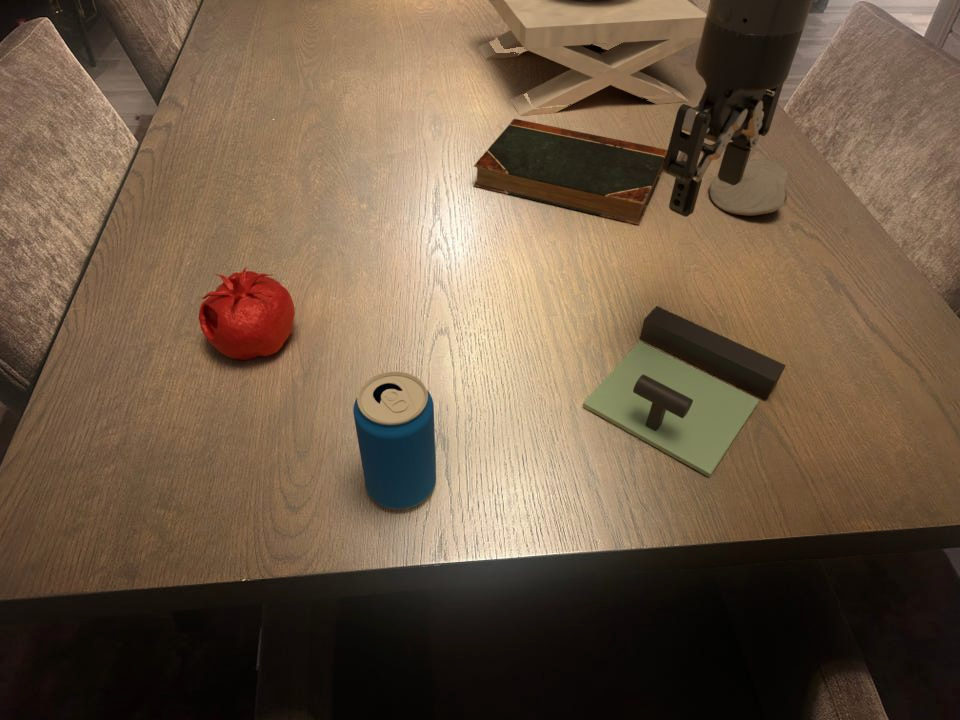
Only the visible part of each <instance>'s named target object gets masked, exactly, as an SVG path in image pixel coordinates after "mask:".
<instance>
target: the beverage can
mask: <svg viewBox="0 0 960 720" xmlns="http://www.w3.org/2000/svg"><path fill="white" fill-rule="evenodd" d="M434 406H435V405H434V399H433V398H432V395H431V393H430V391H429V390H428V389H427V387H426V385H425V383H424V382H423V381H422V380H421V379H419V377H417V376H416V375H414V374H411V373H409V372H404V371H400V370H399V371H398V370H393V371H385V372H381V373H378V374H375V375H373V376H371V377H369V378H368V379H367V380H365V382H364V383H363V384H362V385H361V386H360V388H359V390H358V392H357V396H356V398H355V401H354V404H353V410H352V412H353V413H352V414H353V419H354V425H355V429H356V430H355V431H356V437H357V443H358V450H359V454H360V455H359V456H360V461H361V467H362V472H363V473H362V474H363V479H364V485H365V489H366V491H367V494H368V495H369V497H370V498H371V499H372V500H373V501H374V502H375V503H376V504H378V505H380V506H382V507H385V508H388V509H393V510H405V509H410V508H412V507H413V508H414V507H416V506H419V504H421V503H423V502H424V501H426V499H428V498H429V497H430V495H431V494H432V493H433V491H434V489H435V486H436V483H437V459H436V433H435V407H434Z"/></svg>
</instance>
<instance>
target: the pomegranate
mask: <svg viewBox="0 0 960 720" xmlns="http://www.w3.org/2000/svg"><path fill="white" fill-rule="evenodd" d="M247 269H248V266H246V267H244V268H243V269H242V272H237V271H236V272H233V273H232V274H230V275H229V276H225V275H222V274H218V273H215V275H216V276H217V277H220V279H221V281H222V283H221V284H219V285H218V287H216V289H215V291H209V292H208V293H206V294H205V296H202V297H200V299H201V300H203V301H202V303H201V304H200V307H199V312H198V322H199V325H200V329H201V332H202V333H203V336H204V337H205V339H206V340H207V341H208V343H209V344H211V345H212V346H213V347H214V348H215V349H216V350H217V351H218V352H220V353H221V354H223V355H224V356H226V357H228V358H230V359H231V358H232V359H236V360H243V361H245V360H246V361H247V360H250V359H254V358H256V357H261V356H262V357H268V356H271V355H274V354H276V353H277V352H278V351H280V349H281V348H282V347H283V346H284V344H285V342H286V341H287V340H288V338H289V337H290V336H291V334H292V332H293V328H294V321H295V316H296V310H295V309H296V308H295V304H294V300H293V298H292V295H291V294H290V292H289V290H288V289H287V288H286V287H285V286H283V285H282V284H281V282H280V281H278V280H276V279H274V278H272V277H269V276H274V275H275V273H272V274H268V273H257V272H256V271H250V270H247Z"/></svg>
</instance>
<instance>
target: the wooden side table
mask: <svg viewBox="0 0 960 720" xmlns="http://www.w3.org/2000/svg"><path fill="white" fill-rule="evenodd" d="M488 2H489V3H490V4H491V6H492V7H493V8H494V9H495V11H496V13H498V15H499V16H500V18H501V19H502V21H503V22H504V23H505V25H506V26H507V28H508V29H509V30H507V31H506V32H504V33H502V34H501V35H498V36H497V38H498V40H499V41H500V44H501V46H503V48H504V49H510V48H516V47H524V49H526V50H528V51H527V52H531V53H533V54H535V55H538V56H541V57H543V58H545V59H547V60H550V61H552V62H555V63H557V64H560V65H562V66H564V67H567V68H569V69H568V70H566V71H564V72H562V73H560V74H559V75H556V76H554V77H553V78H550V79H549V80H546V81H545V82H543V83H541V84H539V85H537V86H534V87H533V88H531V89H529V90H527V91H526V92H527V94H528V97H529V98H530V101H531V104H532V105H533V108H540V109H533V108H532V107H531V105H530V104H529V102H528V101H527V99H526V98H525V96H524V95H523V93H521V94H519V95H517V96H515V97H512V98H511V99H510V102H511V104H512V105H513V107H514V109H515V110H516V112H517V113H518V115H519V116H520V117H521V116H535V115H544V114H556V113H557V112H559V111H561V110H563V109H566V108H567V107H568V108H569V106H564V107H552V108H542V107H548V106H556V105H567V104H571V105H573V104H575V103H577V102H580V101H581V100H583V99H585V98H588V97H589V96H591V95H594V94H595V93H597V92H599V91H601V90H603V89H605V88H607V87H609V86H612V87H614V88H616V89H619V90H622V91H624V92H627V93H628V94H631V95H634V96H636V97H638V98H641V97H643V96H655V95H665V94H671V93H670V92H669V91H668V90H667V89H665V88H664V87H663V86H662V85H661V84H660V83H659V82H658V81H657V80H658V79H657V78H655V77H652V76H650V75H647V74H646V73H644V72H641V70H643V69H645V68H647V67H649V66H650V65H652V64H654V63H658V62H659V61H661V60H663V59H664V58H666V57H668V56H671V55H672V54H674V53H676V52H678V51H680V50H683V49H684V48H686V47H688V46H690V45H692V44H694V43H696V42H698V41H701V37H702V33H703V29H704V24H705V20H706V16H707V13H705V12H704V11H703V10H701V8H699V7H698V6H696V5H695V4H694V3H692V2H691V1H689V0H488ZM622 42H623V43H622ZM606 43H621V44H619V45H617V46H615V47H613V48H611V49H609V50H607V51H605V50H604V51H603V52H601V53H598V52H595V51H594V50H591V49H589V48H586V47H584V46H592V45H591V44H606ZM478 50H479V52H480V53H481V55H482V56H483V59H485V60H493V59H507V58H517V57H519V56H520V55H518V54H519V53H516V52H510V53H496V52H495V51H494V49H493V48H492V46H491V45H490V43H489V41H487V42H485V43H483V44H481V45H479V46H478ZM514 53H515V54H514ZM656 79H657V80H656ZM677 90H678V89H677ZM677 90H676V91H674V93H675V94H676V95H677V96H678V97H674V98H661V99H649V100H647V101H648V102H651V103H653V104H655V105H665V104H675V103H687V102H690V101H689V100H688V99H687V97H685V96H684V95H683V94H682V93H681V92H680V90H678V93H677Z"/></svg>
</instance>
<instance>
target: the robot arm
mask: <svg viewBox="0 0 960 720" xmlns="http://www.w3.org/2000/svg"><path fill="white" fill-rule="evenodd" d="M813 2H814V0H709V3H708V7H707V12H706V14H707V16H706V20H705V24H704V29H703V33H702V37H701V39H700V40H699V42H700V43H699V46H698V50H697V55H696V59H695V65H694V66H695V71H696V72H697V74H698V75H699V76H700V77H701V78H702V79H703V81H704V83H705V89H704V91H703V93H702V95H701V98H700V100H699V102H698V105H697V106H691V105H689V104H685V103H683V104H681V105H680V106H679V108H678V110H677V113H676V114H675V115H676V116H675V120H674V123H673V128H672V131H671V135H670V139H669V143H668V147H667V149H666V150H667V154H666V158H665V162H664V166H663V172H662V173H665V174H667V175H669V176H670V177H671V176H672V177H673V178H675V179H674V183H673V188H672V191H671V195H670V199H669V203H668V207H669V209H670V211H672V212H674V213H675V214H678V215H680V216H682V217H685V218H686V217H689V216H691V215H692V214H693V213H694V211H695V207H696V204H697V200H698V196H699V193H700V189H701V186H702V181H703V178H704V175H705V174H706V172H707V170H708V168H709V167H710V165H711V163H712V162H713V161H714V160H718V159H720V158H721V156H722V155H723V156H722V159H721V161H720V162H721V163H720V166H719V169H718V173H717V175H718V178H719V179H720V180H721V181H724V182H726V183H728V184H731V185H736V184H738V183H739V182H740V181H741V180H742V176H743V173H744V170H745V167H746V164H747V161H748V160H749V158H750V154H751V151H752V149H754V148H755V147H756V146H757V145H758V143H759V139H760V136H762V137H765V136H767V134H768V133H769V131H770V129H771V126H772V123H773V119H774V116H775V113H776V110H777V106H778V103H779V100H780V95H781V93H782V90H783V86H784V83H785V82H786V81H787V79H788V77H789V74H790V71H791V68H792V64H793V62H794V59H795V56H796V52H797V50H798V46H799V44H800V41H801V37H802V36H803V35H802V34H803V32H804V29H805V25H806V22H807V20H808V16H809V13H810V11H811V8H812V5H813ZM762 112H763V115H762ZM705 140H708V141H710V142H713V143H712V144H709V143H707V142H705ZM701 155H702V156H701ZM700 156H701V158H700ZM699 159H700V160H699Z"/></svg>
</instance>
